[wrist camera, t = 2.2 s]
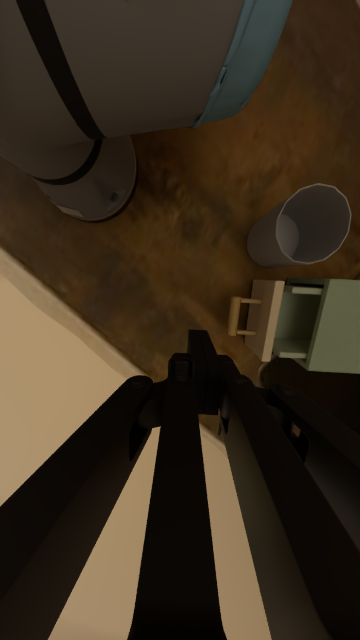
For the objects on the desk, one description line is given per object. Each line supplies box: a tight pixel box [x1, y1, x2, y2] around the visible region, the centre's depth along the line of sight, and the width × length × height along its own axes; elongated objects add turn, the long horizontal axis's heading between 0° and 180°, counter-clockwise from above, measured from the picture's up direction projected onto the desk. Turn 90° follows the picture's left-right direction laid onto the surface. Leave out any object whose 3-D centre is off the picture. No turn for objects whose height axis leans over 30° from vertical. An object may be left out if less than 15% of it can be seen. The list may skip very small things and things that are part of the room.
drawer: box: [227, 279, 324, 362], centre depth 29 cm, size 18×11×8 cm, turn 87°
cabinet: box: [286, 278, 360, 373], centre depth 29 cm, size 15×13×10 cm
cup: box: [247, 183, 352, 268], centre depth 26 cm, size 8×8×10 cm
